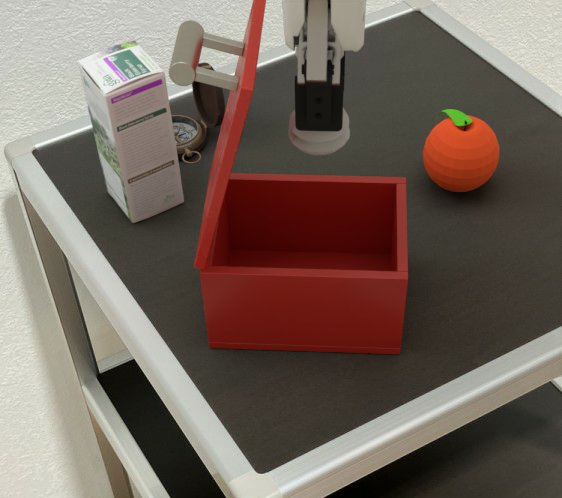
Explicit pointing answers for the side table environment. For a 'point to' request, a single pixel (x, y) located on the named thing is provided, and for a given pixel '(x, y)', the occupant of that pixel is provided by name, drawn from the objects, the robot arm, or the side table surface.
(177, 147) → the compass
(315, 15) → the robot arm
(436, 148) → the clementine
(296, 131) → the rook chess piece
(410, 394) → the side table surface
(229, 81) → the red box lid
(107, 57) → the syrup box
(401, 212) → the red box
